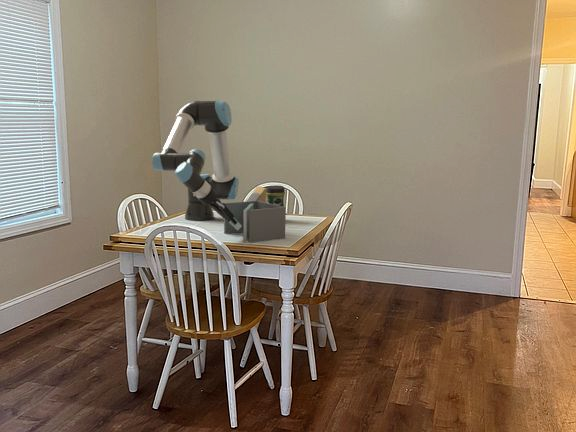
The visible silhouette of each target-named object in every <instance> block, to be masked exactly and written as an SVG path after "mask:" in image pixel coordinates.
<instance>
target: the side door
mask: <svg viewBox="0 0 576 432" xmlns="http://www.w3.org/2000/svg"><path fill="white" fill-rule="evenodd" d="M249 210H254V204H250V205H249V206H248V207H247V208H246V209H245V210H244V232H243V242H244V243H247V242H249Z"/></svg>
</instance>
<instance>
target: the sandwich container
mask: <svg viewBox="0 0 576 432" xmlns="http://www.w3.org/2000/svg"><path fill="white" fill-rule="evenodd" d="M266 188H267V187H263V186H258V185H257V186H256V187H255V189H254V191H253V192H252V193H251V194H250V196H249V197H248V198H247V199H246V200H245V202H247V201H261V202H266V203H267V195H266Z"/></svg>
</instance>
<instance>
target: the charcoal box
mask: <svg viewBox="0 0 576 432" xmlns="http://www.w3.org/2000/svg"><path fill="white" fill-rule="evenodd" d="M246 201H247V200H246ZM246 201H237V202H223V203H224V204H225V205H226V207H227V208H228V209H229V210H230V211H231V213H232V214H233V215H234V218H235V219H236V220H237V221H238V222H239V223H240V224H241V225H242V226H241V228H240V229H239V230H236V229H235V228H234V227H233V226H232V225H231V224H230V223H229V222H228V221H227V220H226V219H225V218H223V234H233V233H235V232H236V233H244V210H245V209H246V208H247V207H248V206H249V205H250V204H254V210H249V240H248V243H249V244H252V243H260V242H269V241H277V240H285V239H286V220H287V219H286V217H287V216H286V215H287V214H286V213H287V212H286V211H287V210H286V209H287V207H286V206H284V207H282V206H278V205H274V204H270V203H267V201H266V202H261V201H247V202H246Z"/></svg>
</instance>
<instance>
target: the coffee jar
mask: <svg viewBox="0 0 576 432" xmlns="http://www.w3.org/2000/svg"><path fill="white" fill-rule="evenodd" d="M265 188H266V203H270V204H274V205H278V206H282V207H285V204H284V197H285V193H286V191H285V186H283V185H276V184H275V185H267V186H266V187H265Z"/></svg>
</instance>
